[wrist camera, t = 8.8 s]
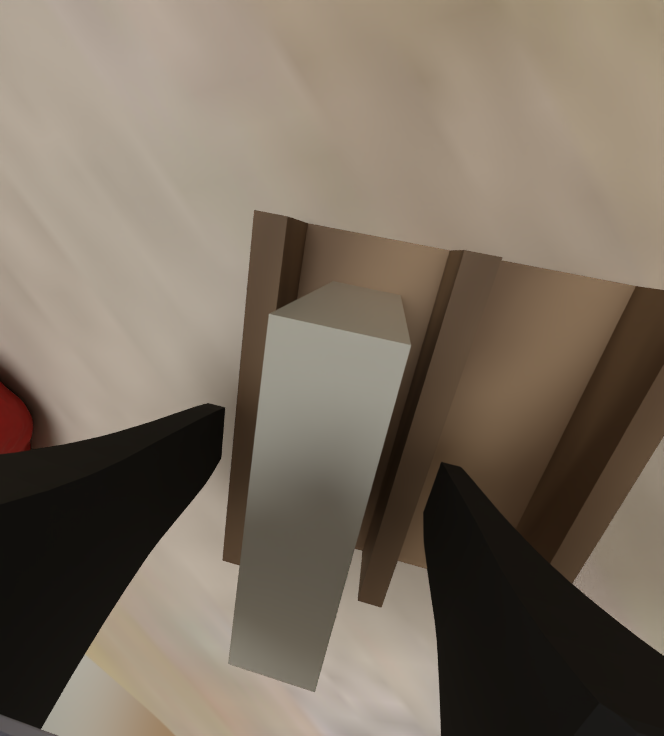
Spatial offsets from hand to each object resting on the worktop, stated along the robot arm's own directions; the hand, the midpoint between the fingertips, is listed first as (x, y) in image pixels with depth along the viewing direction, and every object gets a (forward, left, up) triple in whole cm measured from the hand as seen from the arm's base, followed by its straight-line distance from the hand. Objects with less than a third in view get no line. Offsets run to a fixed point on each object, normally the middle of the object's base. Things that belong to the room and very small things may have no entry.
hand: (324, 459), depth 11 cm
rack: (-3, 0, -4) cm, 5 cm away
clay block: (0, 0, -3) cm, 3 cm away
